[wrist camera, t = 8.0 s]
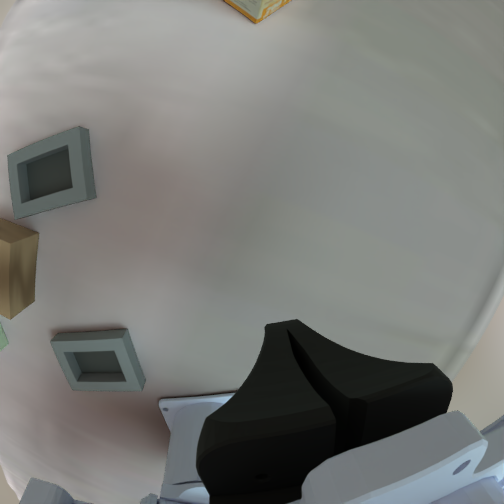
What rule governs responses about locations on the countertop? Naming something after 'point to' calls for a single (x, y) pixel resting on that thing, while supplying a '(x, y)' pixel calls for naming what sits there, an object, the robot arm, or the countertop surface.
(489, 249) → the countertop surface
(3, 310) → the tan block
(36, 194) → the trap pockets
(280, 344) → the robot arm
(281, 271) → the countertop surface
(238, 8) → the supplement box
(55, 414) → the countertop surface
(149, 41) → the countertop surface
